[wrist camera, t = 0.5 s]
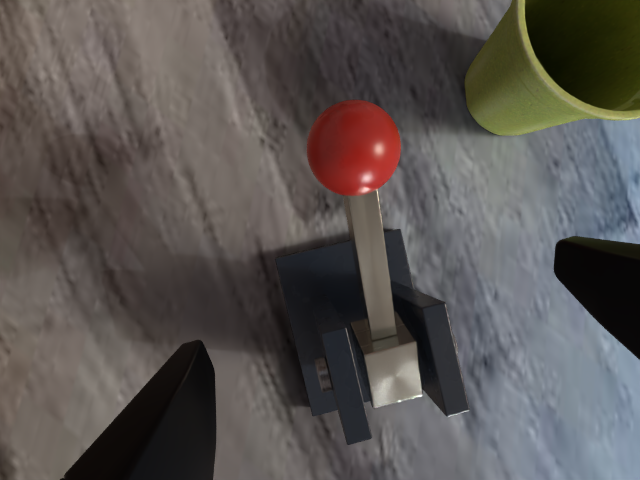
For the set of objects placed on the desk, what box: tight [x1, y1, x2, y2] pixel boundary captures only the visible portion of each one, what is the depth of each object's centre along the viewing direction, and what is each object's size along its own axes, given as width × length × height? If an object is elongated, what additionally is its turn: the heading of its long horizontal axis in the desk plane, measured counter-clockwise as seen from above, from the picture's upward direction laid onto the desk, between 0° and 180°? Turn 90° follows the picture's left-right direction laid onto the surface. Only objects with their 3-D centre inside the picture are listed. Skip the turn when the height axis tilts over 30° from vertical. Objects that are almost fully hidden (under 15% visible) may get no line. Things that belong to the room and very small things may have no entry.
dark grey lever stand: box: [275, 229, 470, 445], centre depth 19 cm, size 10×8×10 cm
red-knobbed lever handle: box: [307, 100, 423, 409], centre depth 14 cm, size 12×3×3 cm, turn 13°
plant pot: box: [464, 0, 640, 136], centre depth 20 cm, size 9×9×9 cm
